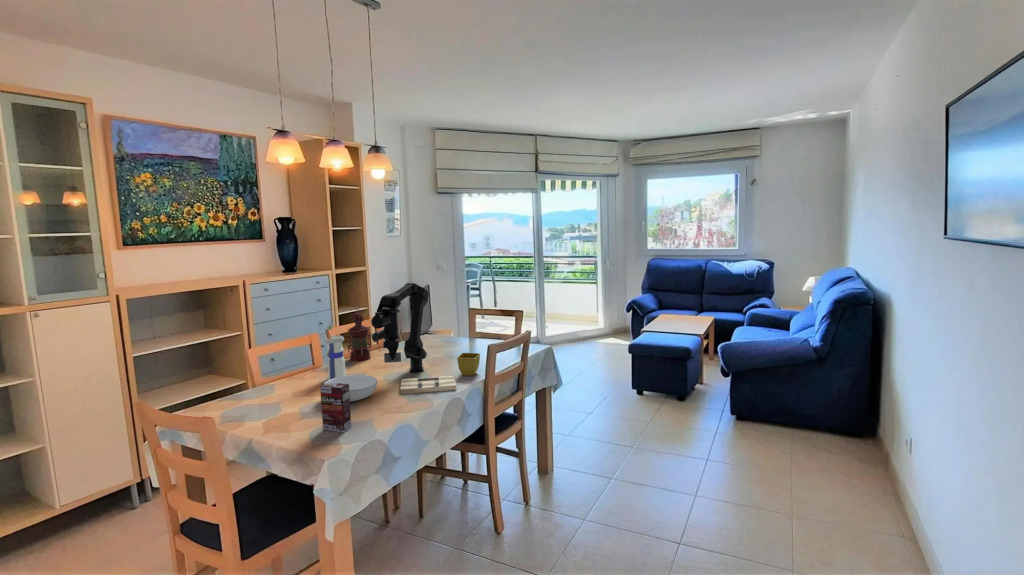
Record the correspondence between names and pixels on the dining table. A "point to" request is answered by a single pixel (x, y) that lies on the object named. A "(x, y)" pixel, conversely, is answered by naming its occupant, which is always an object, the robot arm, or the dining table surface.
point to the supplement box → (335, 407)
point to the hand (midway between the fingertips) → (392, 358)
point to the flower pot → (468, 363)
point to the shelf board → (428, 384)
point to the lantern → (359, 339)
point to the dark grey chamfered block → (388, 358)
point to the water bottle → (335, 356)
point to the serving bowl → (357, 385)
